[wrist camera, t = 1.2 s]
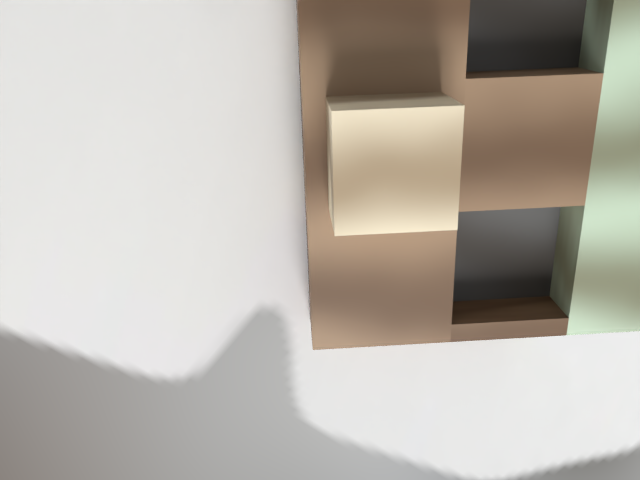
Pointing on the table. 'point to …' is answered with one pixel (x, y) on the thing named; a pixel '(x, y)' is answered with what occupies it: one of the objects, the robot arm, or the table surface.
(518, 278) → the multicoloured piece
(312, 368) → the table surface
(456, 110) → the birch block
